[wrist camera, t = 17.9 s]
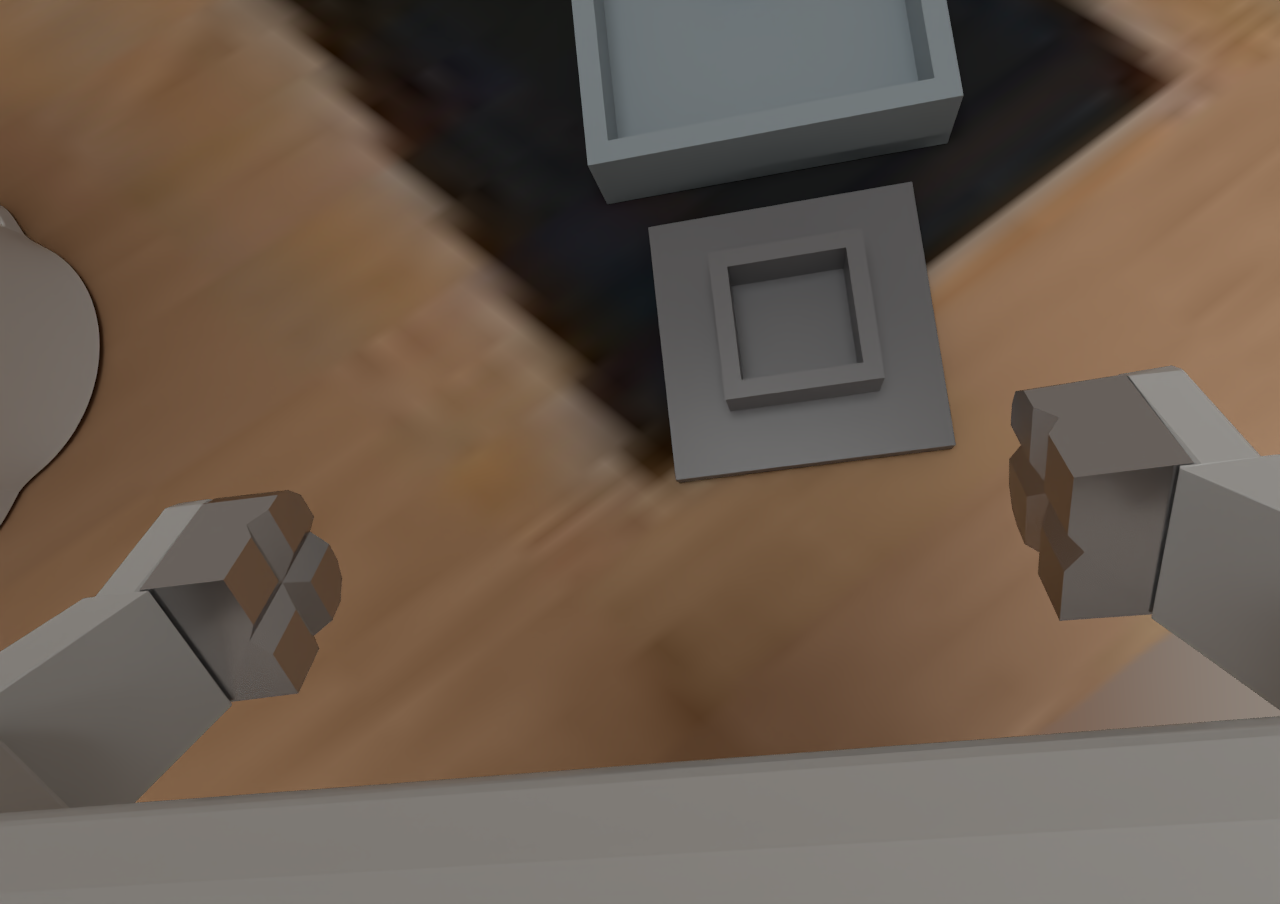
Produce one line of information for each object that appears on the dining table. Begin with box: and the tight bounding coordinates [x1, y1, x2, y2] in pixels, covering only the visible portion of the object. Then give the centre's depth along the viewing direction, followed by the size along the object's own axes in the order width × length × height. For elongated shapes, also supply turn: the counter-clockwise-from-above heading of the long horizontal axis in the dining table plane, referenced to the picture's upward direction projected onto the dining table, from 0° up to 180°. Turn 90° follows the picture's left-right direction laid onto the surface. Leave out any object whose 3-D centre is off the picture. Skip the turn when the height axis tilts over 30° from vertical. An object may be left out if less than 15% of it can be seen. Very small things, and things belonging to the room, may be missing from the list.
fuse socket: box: [648, 182, 956, 483], centre depth 38 cm, size 12×12×4 cm
